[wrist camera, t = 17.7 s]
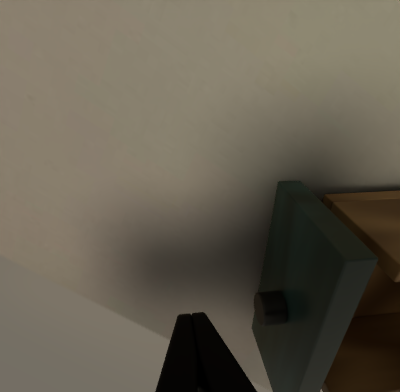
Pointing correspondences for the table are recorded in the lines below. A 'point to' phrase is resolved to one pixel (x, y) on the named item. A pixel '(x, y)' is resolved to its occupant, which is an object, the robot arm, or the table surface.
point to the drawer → (331, 292)
